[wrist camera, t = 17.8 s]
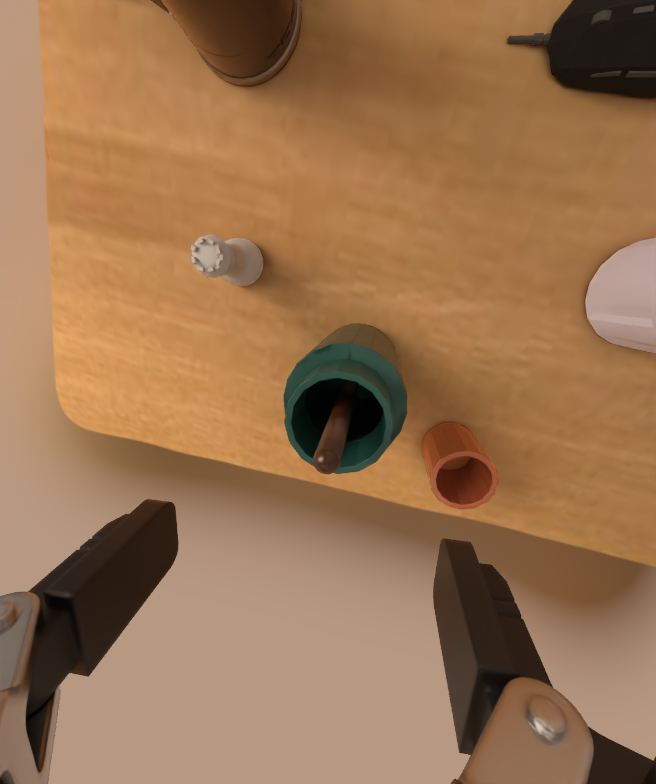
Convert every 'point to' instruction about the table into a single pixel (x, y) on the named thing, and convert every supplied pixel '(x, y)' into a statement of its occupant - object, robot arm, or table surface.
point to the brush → (336, 430)
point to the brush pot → (458, 466)
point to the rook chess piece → (228, 259)
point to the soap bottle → (626, 297)
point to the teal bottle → (372, 403)
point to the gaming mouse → (603, 46)
